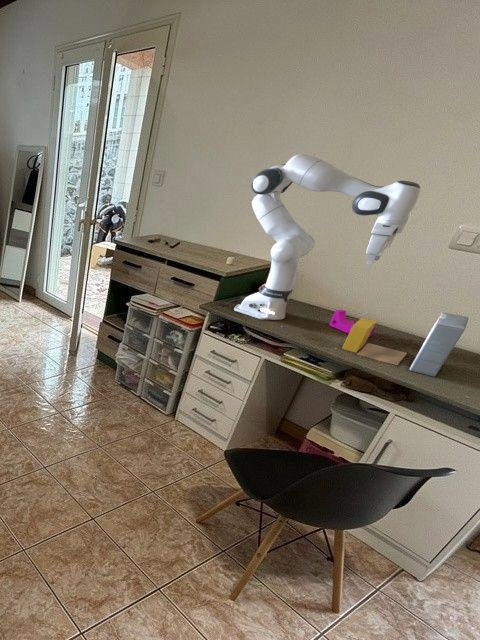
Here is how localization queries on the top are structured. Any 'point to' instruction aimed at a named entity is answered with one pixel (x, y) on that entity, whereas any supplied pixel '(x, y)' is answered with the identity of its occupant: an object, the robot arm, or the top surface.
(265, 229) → the robot arm
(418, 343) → the top surface
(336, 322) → the magenta u-shaped bracket
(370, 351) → the cork pad
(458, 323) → the hard drive box
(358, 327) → the yellow block
